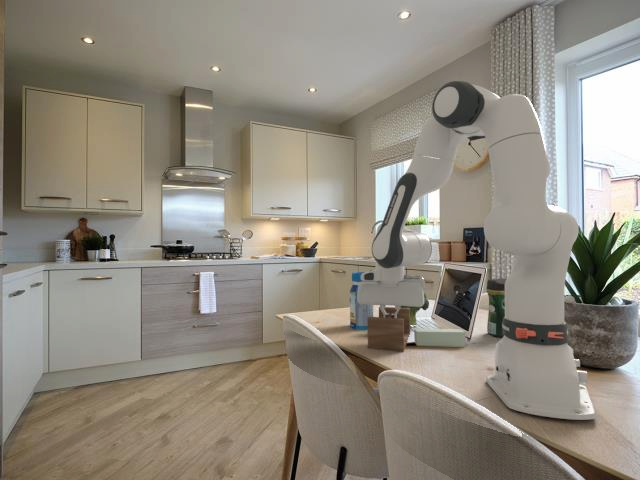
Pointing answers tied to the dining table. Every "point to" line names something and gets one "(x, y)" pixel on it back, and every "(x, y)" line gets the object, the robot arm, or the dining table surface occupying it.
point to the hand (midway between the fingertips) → (390, 319)
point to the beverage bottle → (358, 306)
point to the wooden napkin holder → (389, 330)
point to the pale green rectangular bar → (440, 337)
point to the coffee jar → (496, 306)
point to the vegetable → (414, 310)
